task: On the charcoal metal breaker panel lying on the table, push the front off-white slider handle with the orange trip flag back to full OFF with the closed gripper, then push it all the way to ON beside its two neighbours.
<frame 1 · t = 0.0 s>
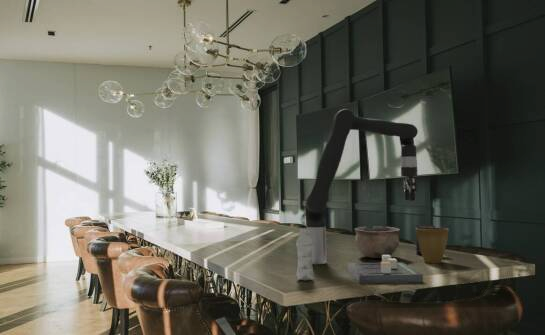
hand: (409, 200, 229), 29 cm above the table, fingers open, 8 cm apart
breaker front tripped: (385, 267, 185), point 5 cm above the table, slide at 5.0 cm
ceramic bowl: (377, 258, 242), on the table
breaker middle: (392, 263, 195), point 5 cm above the table, slide at 10.0 cm
storage jar: (425, 255, 250), on the table
breaker back: (386, 259, 205), point 5 cm above the table, slide at 10.0 cm
plant pot: (432, 262, 227), on the table
breaker panel: (382, 275, 195), on the table
plastic bottle: (305, 280, 188), on the table
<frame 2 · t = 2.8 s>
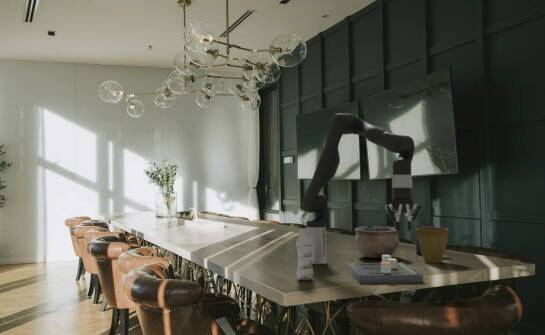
hand: (403, 230, 185), 19 cm above the table, fingers open, 3 cm apart
nothing on the table moved.
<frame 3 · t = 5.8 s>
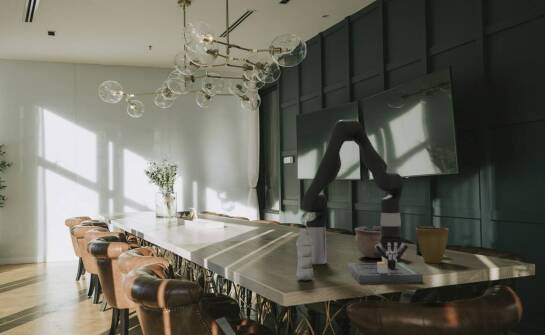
hand: (391, 269, 185), 4 cm above the table, fingers closed
breaker front tripped: (382, 267, 185), point 5 cm above the table, slide at 3.6 cm, touching gripper
everything else where it was.
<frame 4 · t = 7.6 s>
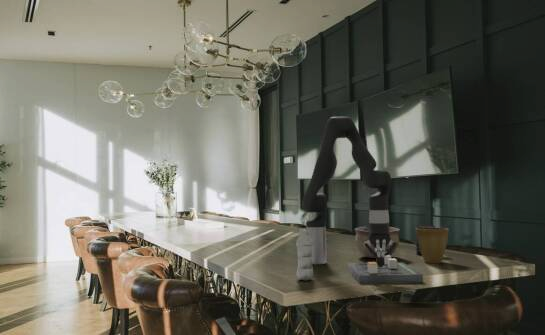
hand: (380, 266, 185), 6 cm above the table, fingers closed
breaker front tripped: (372, 267, 185), point 5 cm above the table, slide at -0.1 cm, touching gripper
everything else where it was.
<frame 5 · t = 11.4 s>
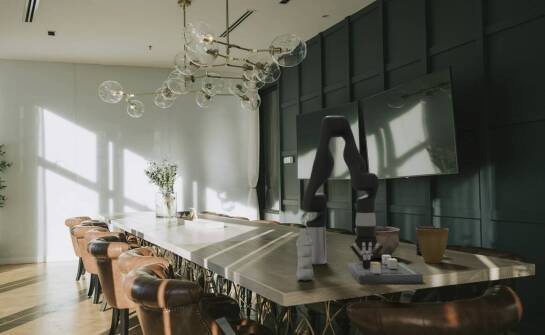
hand: (366, 269, 185), 5 cm above the table, fingers closed
breaker front tripped: (375, 267, 185), point 5 cm above the table, slide at 1.0 cm, touching gripper
everything else where it was.
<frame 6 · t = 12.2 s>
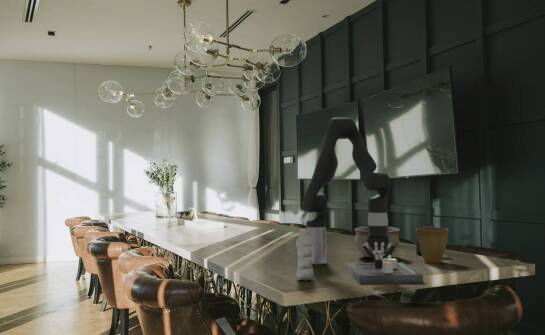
hand: (378, 269, 185), 5 cm above the table, fingers closed
breaker front tripped: (387, 267, 185), point 5 cm above the table, slide at 5.7 cm, touching gripper
everything else where it was.
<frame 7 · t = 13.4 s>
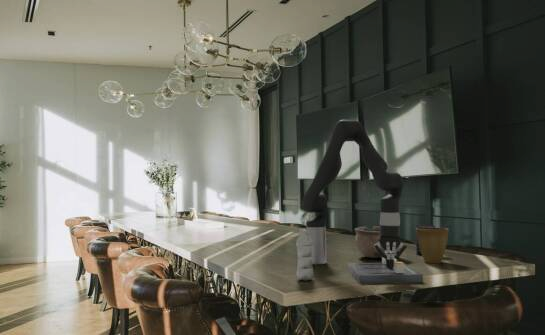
hand: (389, 269, 185), 5 cm above the table, fingers closed
breaker front tripped: (399, 267, 185), point 5 cm above the table, slide at 10.1 cm, touching gripper
everything else where it was.
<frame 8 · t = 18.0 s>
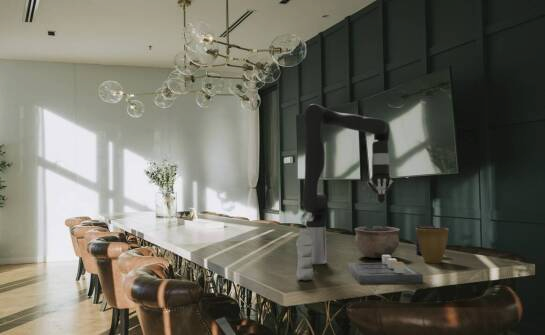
hand: (381, 202, 214), 29 cm above the table, fingers closed
breaker front tripped: (398, 267, 185), point 5 cm above the table, slide at 10.1 cm
everything else where it was.
at the end: breaker front tripped slide at 10.1 cm; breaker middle slide at 10.0 cm; breaker back slide at 10.0 cm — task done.
